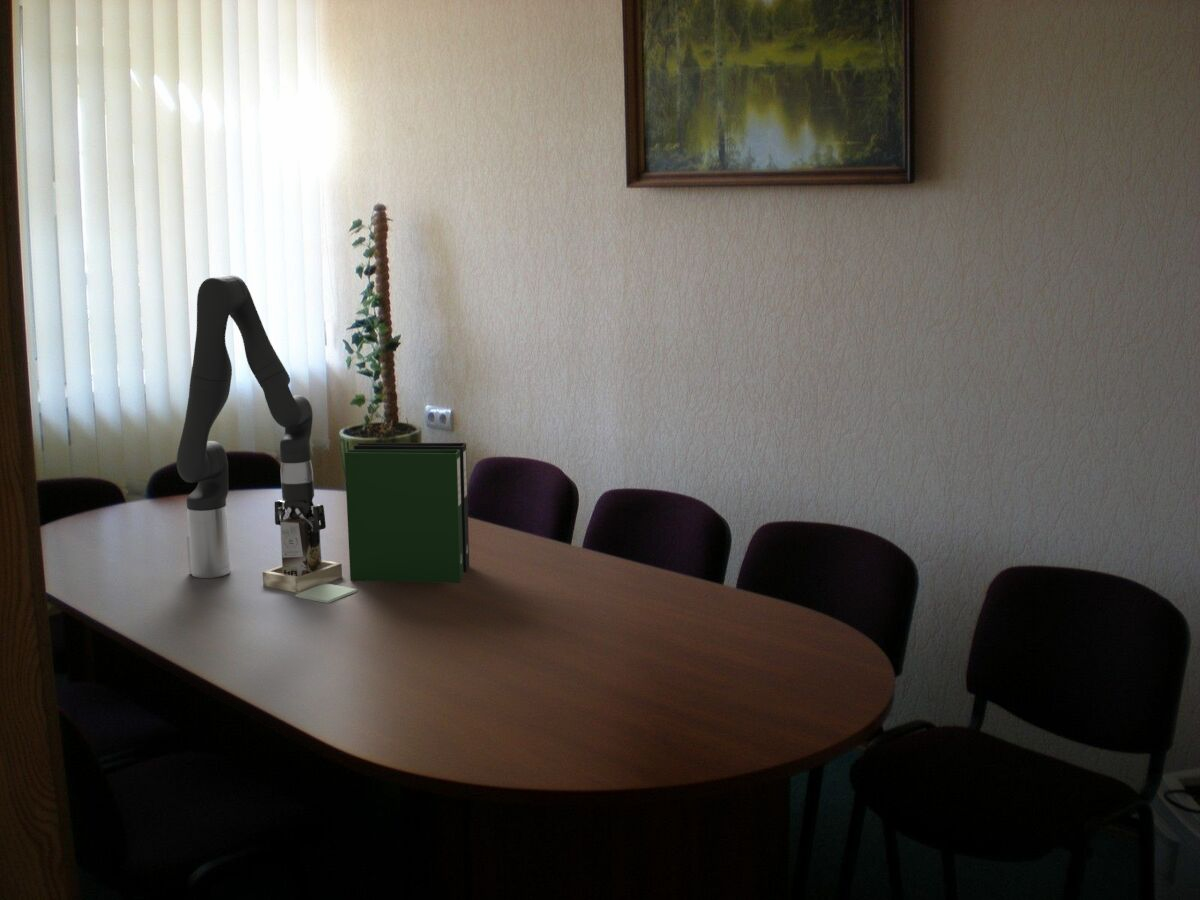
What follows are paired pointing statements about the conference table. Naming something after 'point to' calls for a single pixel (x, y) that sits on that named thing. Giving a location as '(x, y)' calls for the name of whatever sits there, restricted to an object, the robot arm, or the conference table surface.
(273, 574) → the pocket frame
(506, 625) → the conference table surface
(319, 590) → the mat
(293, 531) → the coffee box
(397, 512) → the binder
